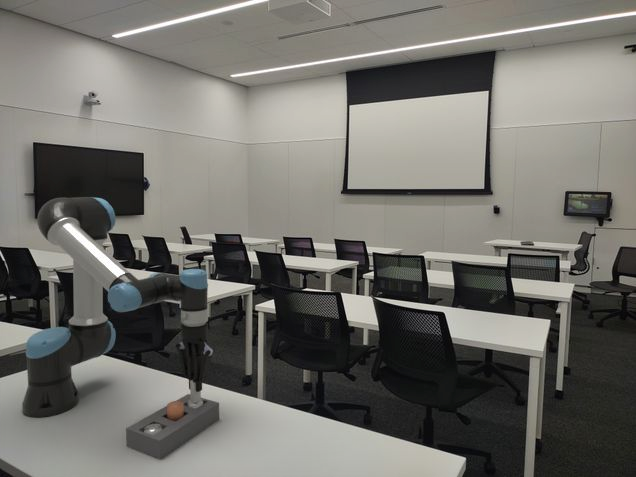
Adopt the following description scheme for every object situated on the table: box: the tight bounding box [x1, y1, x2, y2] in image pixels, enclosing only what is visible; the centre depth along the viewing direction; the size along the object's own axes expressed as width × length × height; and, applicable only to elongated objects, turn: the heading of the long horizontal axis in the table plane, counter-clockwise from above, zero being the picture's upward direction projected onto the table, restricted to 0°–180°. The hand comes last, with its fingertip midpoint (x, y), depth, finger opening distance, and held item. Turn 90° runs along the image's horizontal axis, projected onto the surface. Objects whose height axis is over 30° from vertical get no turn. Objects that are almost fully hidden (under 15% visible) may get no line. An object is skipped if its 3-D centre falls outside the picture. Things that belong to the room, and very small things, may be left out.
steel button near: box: [144, 424, 162, 435], centre depth 118 cm, size 4×4×4 cm
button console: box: [125, 393, 220, 460], centre depth 125 cm, size 12×23×5 cm, turn 153°
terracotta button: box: [166, 400, 184, 421], centre depth 124 cm, size 4×4×4 cm
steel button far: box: [188, 399, 203, 409], centre depth 132 cm, size 4×4×4 cm
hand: (195, 400), depth 131 cm, fingers closed
